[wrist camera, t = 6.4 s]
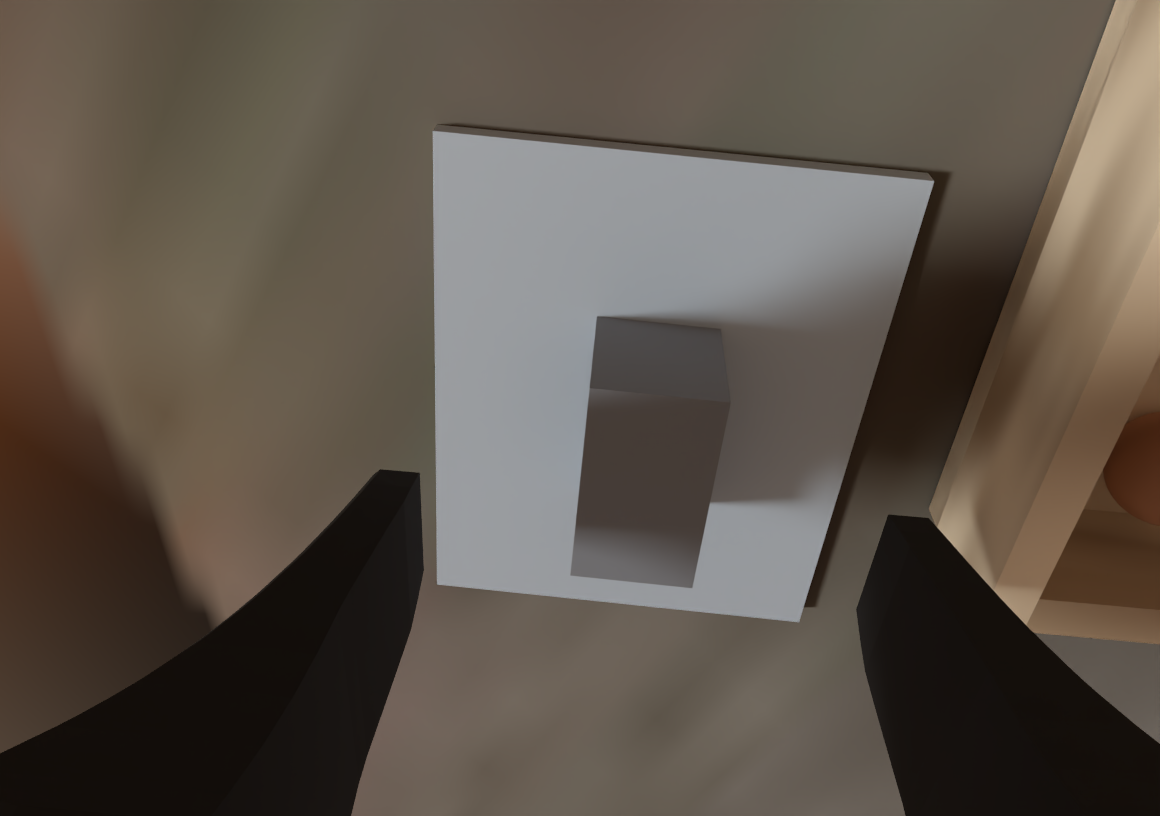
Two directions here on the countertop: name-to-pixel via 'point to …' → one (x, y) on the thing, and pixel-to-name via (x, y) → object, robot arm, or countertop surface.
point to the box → (1077, 375)
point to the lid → (653, 363)
